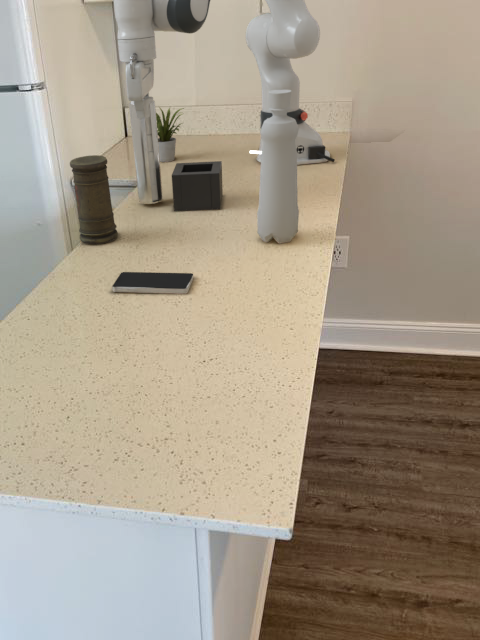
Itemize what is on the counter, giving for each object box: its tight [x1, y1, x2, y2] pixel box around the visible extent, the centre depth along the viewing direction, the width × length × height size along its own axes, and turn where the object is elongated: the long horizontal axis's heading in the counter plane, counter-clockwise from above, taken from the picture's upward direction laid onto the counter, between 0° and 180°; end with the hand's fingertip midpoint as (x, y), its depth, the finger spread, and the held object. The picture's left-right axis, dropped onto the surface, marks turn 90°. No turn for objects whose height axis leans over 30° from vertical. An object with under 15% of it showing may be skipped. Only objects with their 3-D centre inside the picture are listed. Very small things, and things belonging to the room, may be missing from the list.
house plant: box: [156, 106, 185, 163], centre depth 214 cm, size 14×14×16 cm
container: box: [69, 154, 119, 246], centre depth 155 cm, size 9×9×18 cm
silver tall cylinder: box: [128, 95, 164, 205], centre depth 172 cm, size 6×6×25 cm
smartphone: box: [111, 271, 194, 295], centre depth 134 cm, size 8×1×15 cm
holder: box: [171, 160, 224, 212], centre depth 175 cm, size 12×12×9 cm
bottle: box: [256, 90, 300, 244], centre depth 143 cm, size 9×9×30 cm
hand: (143, 114), depth 167 cm, fingers closed on silver tall cylinder, 6 cm apart
